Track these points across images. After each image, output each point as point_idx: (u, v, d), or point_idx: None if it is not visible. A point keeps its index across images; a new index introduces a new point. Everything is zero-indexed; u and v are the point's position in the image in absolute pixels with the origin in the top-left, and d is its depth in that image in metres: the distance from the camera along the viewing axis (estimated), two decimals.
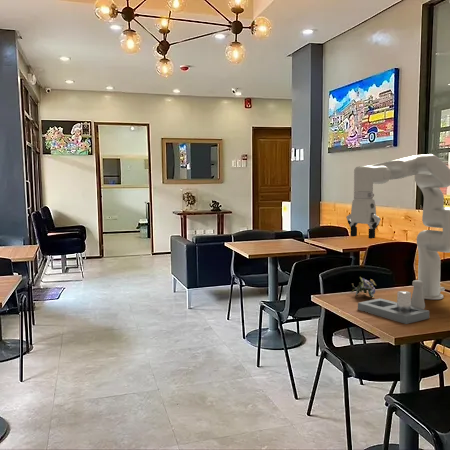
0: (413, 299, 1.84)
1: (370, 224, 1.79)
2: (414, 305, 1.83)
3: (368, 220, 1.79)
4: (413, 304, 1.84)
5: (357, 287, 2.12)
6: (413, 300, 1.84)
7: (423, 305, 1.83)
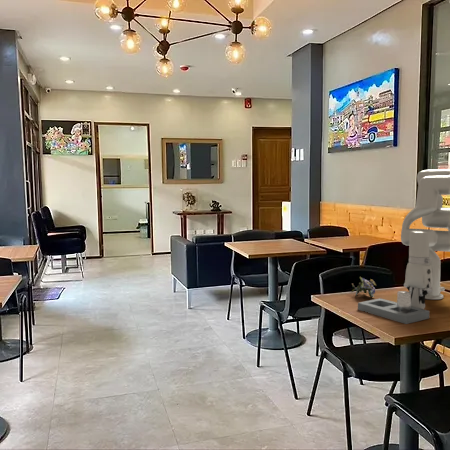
0: (413, 299, 1.84)
1: (422, 292, 1.81)
2: (414, 305, 1.83)
3: (425, 286, 1.79)
4: (413, 304, 1.84)
5: (357, 287, 2.12)
6: (413, 300, 1.84)
7: (423, 305, 1.83)
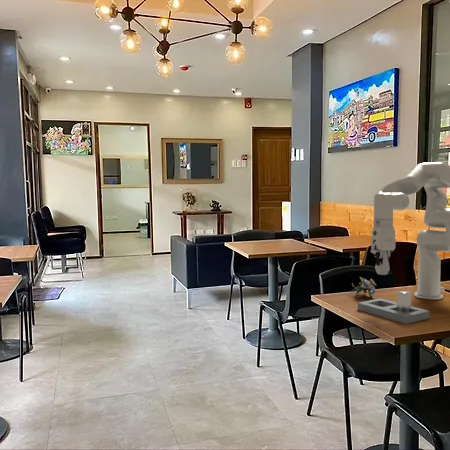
0: None
1: None
2: None
3: (371, 246, 1.84)
4: None
5: (357, 287, 2.12)
6: None
7: (378, 267, 1.84)
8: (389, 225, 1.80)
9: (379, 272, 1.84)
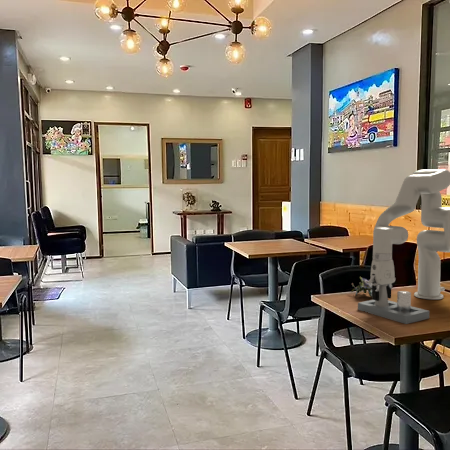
0: None
1: None
2: None
3: None
4: None
5: (357, 287, 2.12)
6: None
7: (377, 304, 1.85)
8: (388, 260, 1.81)
9: None
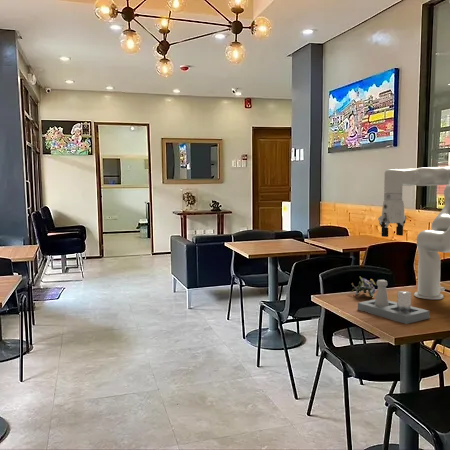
0: None
1: None
2: None
3: None
4: None
5: (357, 287, 2.12)
6: None
7: (377, 304, 1.85)
8: (399, 199, 1.92)
9: None
